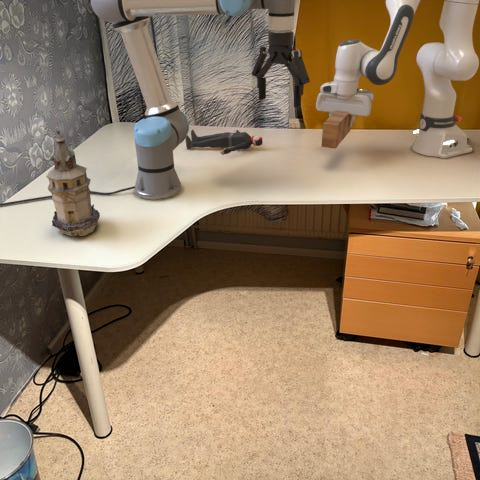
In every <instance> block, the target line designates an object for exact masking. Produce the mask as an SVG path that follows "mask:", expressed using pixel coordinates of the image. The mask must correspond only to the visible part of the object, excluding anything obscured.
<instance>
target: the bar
mask: <svg viewBox="0 0 480 480" xmlns="http://www.w3.org/2000/svg"><path fill="white" fill-rule="evenodd" d="M352 119H353V118H352V115H350V114H349V113H346V112H337V111H335V112H334V113H333V114H332V115H331V116H329V117H327V119H326V120H325V121H324V122H323V123H322V132H321V133H322V135H321V146H320V147H321V148H328V149H334V150H336V149H337V148H338V146H339V145H340V144H341V143H342V141H343V140H344V139H345V138H346V137H347V135H348V134H349V133H350V132H351V129H352V127H351V126H348V122H349V121H352Z"/></svg>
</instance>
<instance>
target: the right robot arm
mask: <svg viewBox="0 0 480 480" xmlns="http://www.w3.org/2000/svg"><path fill="white" fill-rule="evenodd" d="M420 2H421V0H385V6H386V10H387V12H388V14H389V18H390V19H389V20H390V24H389V28H388V31H387V33H386V36H385V38H384V41H383V43H382V46H381V48H380V50H378V49H376V48H372V47H370V46H368V45H366V44H365V43H363V42H362V41H361V40H360V39H355V38H354V39H351V38H350V39H346V40H344V41H341V42H340V43H339V45H338V47H337V50H336V55H335V62H334V69H335V72H334V73H335V74H334V76H333V81H327V82H324V83H322V85H321V86H320V88H319V91H320V92H319V93H318V94H317V97H316V103H315V109H316V111H318V112H325V113H328V116H329V117H330V116H331V115H332V114H333V113H334V112H335V111H337V112H346V113H349V114H350V115H352V120H351V121H349V122H348V126H351V128H353V126H354V122H355V120H356V119H357V117H359V116H360V117H369V116H370V115H371V114H372V109H373V104H372V103H373V101H374V98H375V97H374V96H375V95H374V92H373V91H371V90H370V89H363V88H359V81H360V78H361V77H365V78H366V79H367V80H368V81H369V82H370V83H371V84H372V85H374V86H384V85H386V84H389V83H390V82H391V81H392V80H393V79H394V77H395V75H396V73H397V70H398V62H399V61H398V60H399V57H400V54H401V51H402V48H403V46H404V44H405V42H406V40H407V37H408V34H409V32H410V29H411V26H412V24H413V20H414V18H415V15H416V11H417V9H418V7H419V4H420ZM479 2H480V0H444V2H443V6H442V10H441V14H440V18H439V21H438V22H439V23H438V26H439V28H440V30H441V31H442V34H443V42H439V41H438V42H437V41H436V42H427V43H425V44H423V45H422V46H421V47H420V48H419V50H418V52H417V54H416V65H417V66H418V68H419V70H420V71H421V75H422V80H423V87H424V95H423V105H422V112H421V113H420V117H419V121H418V125H419V128H418V129H416V130H413V134H417V135H416V139H415V140H414V143H413V146H412V147H411V149H412V151H413V152H415V153H417V154H419V155H423V156H428V157H437V158H441V159H448V158H452V157H457V156H460V155H461V156H462V155H464V154H468V153H472V152H473V148H472V147H471V145H469V144H468V141H469V140H470V138H468V135H467V134H466V132H465V131H463V130H462V128H460V127H459V126H458V125H457V124H456V122H457V123H461V121H462V120H463V117H462V116H459V115H455V114H454V113H455V106H456V100H457V92H456V90H455V89H454V87H453V85H452V81H453V82H455V81H457V82H463V81H468V80H470V79H472V78H473V77H474V76H475V75H476V73H477V72H478V69H479V65H480V59H479V56H478V55H477V53H476V51H475V48H474V42H473V28H474V24H475V19H476V14H477V11H478V6H479Z"/></svg>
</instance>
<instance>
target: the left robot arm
mask: <svg viewBox="0 0 480 480" xmlns="http://www.w3.org/2000/svg"><path fill="white" fill-rule="evenodd" d="M295 3H296V0H90V6H91V8H92V11H93V12H94V14H95V15H96V16H97V18H99V19H100V20H102V21H104V22H107V23H111V24H112V26H113V30H114V31H115V32H117V33H119V34H120V35H121V38H122V42H123V44H124V47H125V50H126V52H127V56H128V59H129V61H130V64H131V66H132V69H133V72H134V75H135V78H136V81H137V83H138V86H139V88H140V93H141V94H142V97H143V100H144V103H145V106H146V109H145V112H144V117H145V118H142V119H139V120H138V121H137V123H135V125H134V127H133V139H134V144H135V154H136V161H137V175H136V179H135V184H134V186H130V187H126V188H122V189H121V188H120V189H118V190H115V191H111V192H101V191H95V190H94V191H93V190H90V191H91V192H90V194H94V195H102V196H110V195H115V194H119V193H122V192H126V191H130V190H134V193H135V195H136V196H137V197H138V198H141V199H143V200H148V201H161V200H168V199H171V198H174V197H176V196H178V195H179V194H180V193H181V192H182V182H181V180H180V177H179V176H178V173H177V171H176V169H175V161H174V160H175V159H174V158H175V157H174V151H175V149H177V147H179V145H181V144H182V143H184V141H185V140H186V136H187V135H188V134H189V131H190V121H189V118H188V117H187V115H186V114H185V113H184V112H183V111H181V109H180V106H179V104H178V102H176V101H175V100H173V99H172V96H171V93H170V91H169V88H168V84H167V82H166V78H165V75H164V73H163V70H162V67H161V64H160V61H159V58H158V55H157V51H156V49H155V45H154V43H153V40H152V37H151V34H150V31H149V28H148V24H149V21H150V19H151V18H150V17H170V16H172V17H173V16H209V15H210V16H212V15H216V16H217V15H222V16H223V15H228V16H230V17H240V16H242V15H244V14H245V13H246V12H248V11H250V10H268V17H267V18H268V20H267V23H268V24H267V29H268V33H267V44H268V45H267V44H266V45H261V46H260V47H259V54H258V57H257V59H256V61H255V64H254V66H253V69H252V72H251V76H253V77H255V78H256V87H257V89H258V101H262V100H265V99H266V97H267V77H266V74H267V73H268V72H269V70H270V69H271V68H272V66H274V64H278V65H284V66H285V67H286V68H287V70H288V72H289V73H290V75H291V77H292V78H293V81H294V82H295V83H296V84H295V85H294V87H293V88H294V90H293V108H297V107H300V106H302V96H303V95H304V86H305V85H306V84H309V83H310V82H311V80H310V76H309V73H308V71H307V67H306V65H305V62H304V59H303V50H301V49H296V50H293V46H294V37H295V35H294V34H295V33H294V31H293V30H294V29H295V5H296V4H295ZM268 55H269V56H268ZM267 56H268V58H267ZM266 58H267V59H266ZM45 199H46V200H47V199H52V194H51V195H46V196H39V197H38V196H37V197H33V198H25V199H19V200H14V201H9V202H1V203H0V207H3V206H8V205H15V204H20V203H21V204H22V203H27V202H33V201H39V200H40V201H41V200H45Z"/></svg>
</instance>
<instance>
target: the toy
mask: <svg viewBox="0 0 480 480" xmlns="http://www.w3.org/2000/svg"><path fill="white" fill-rule="evenodd" d="M233 131H234V132H229V131H225V132H220V133H219V132H218V133H214V134H208V135H201V136H198V135H197V134H196V132H195V130H194V129H191V130H190V136H189V135H188V134H187V136H186V138H185V147H186V149H187V150H191V149H194V148H198V149H199V148H200V149H204V148H211V149H215V148H216V149H217V148H220V149H221V150H219V151H220V152H219V153H220V155H221V156H224V155H228V154H230V153H232V152H235V151H239V150H241V151H247V150H248V151H249V149H250V148H251V147H252V145H253V146H255V147H260V146H262V145H263V142H264V141H263V137H262V136H261V135H253V136H251V135H250V134H249V133H248V132H247V131H242V132H241V131H239V129H234V130H233ZM190 137H191V138H190Z"/></svg>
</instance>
